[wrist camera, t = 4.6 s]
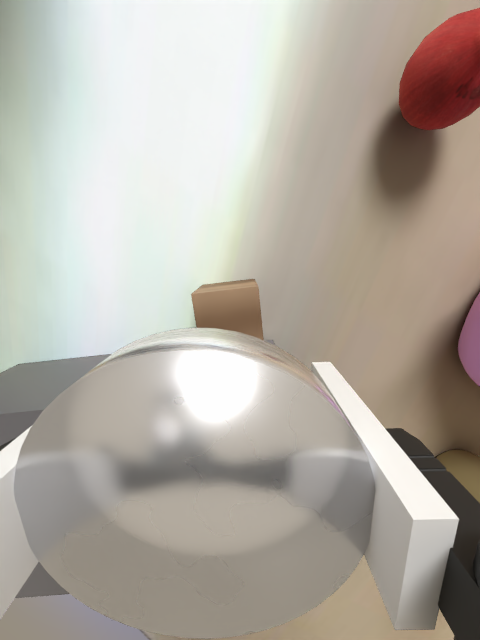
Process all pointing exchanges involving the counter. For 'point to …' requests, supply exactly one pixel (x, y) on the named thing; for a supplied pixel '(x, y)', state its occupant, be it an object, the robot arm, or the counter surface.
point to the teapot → (471, 342)
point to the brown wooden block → (229, 307)
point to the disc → (196, 486)
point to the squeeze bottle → (463, 469)
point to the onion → (443, 74)
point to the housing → (21, 413)
